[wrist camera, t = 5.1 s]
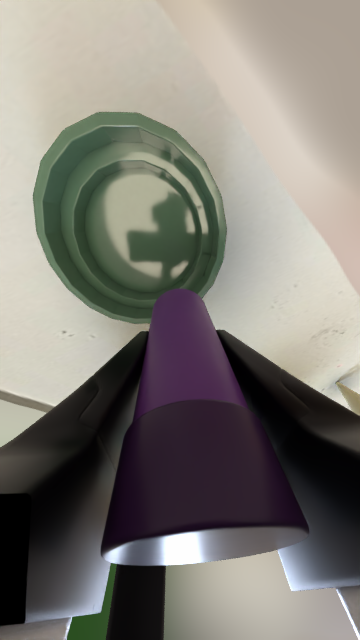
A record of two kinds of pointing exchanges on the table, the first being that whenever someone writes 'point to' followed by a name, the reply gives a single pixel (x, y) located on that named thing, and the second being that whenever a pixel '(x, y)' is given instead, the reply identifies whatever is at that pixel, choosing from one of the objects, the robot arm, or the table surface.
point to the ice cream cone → (350, 398)
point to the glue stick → (195, 456)
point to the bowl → (128, 214)
